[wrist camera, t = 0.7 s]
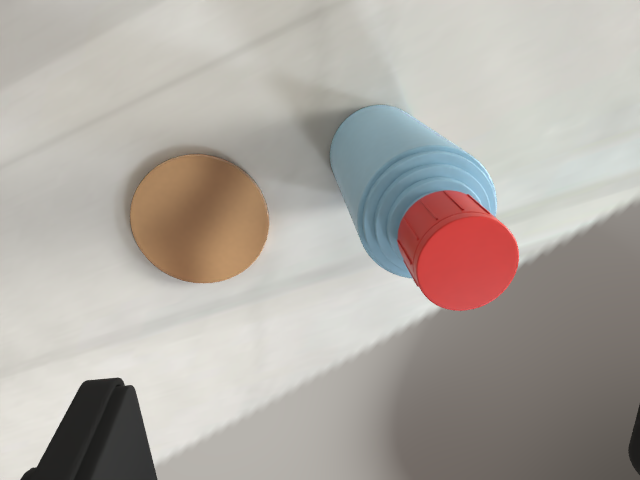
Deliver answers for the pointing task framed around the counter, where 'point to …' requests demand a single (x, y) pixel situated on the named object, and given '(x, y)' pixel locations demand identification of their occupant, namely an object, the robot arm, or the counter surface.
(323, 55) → the counter surface
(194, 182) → the coaster
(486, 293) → the cap
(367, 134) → the bottle
